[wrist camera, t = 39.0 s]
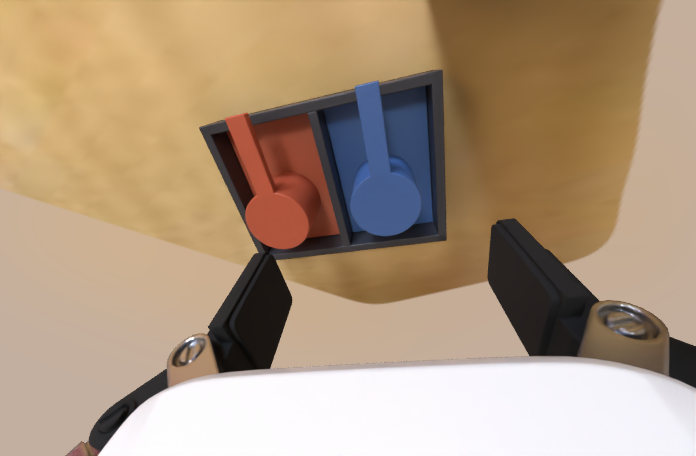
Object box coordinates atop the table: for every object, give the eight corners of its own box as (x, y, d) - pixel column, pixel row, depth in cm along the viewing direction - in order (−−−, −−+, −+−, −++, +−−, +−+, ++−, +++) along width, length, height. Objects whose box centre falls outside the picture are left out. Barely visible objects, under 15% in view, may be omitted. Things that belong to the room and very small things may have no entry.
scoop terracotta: (277, 224, 22) (259, 252, 19) (232, 114, 18) (198, 124, 14) (326, 218, 21) (316, 245, 18) (292, 99, 17) (270, 107, 14)
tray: (272, 245, 24) (262, 262, 22) (218, 121, 19) (198, 127, 17) (439, 223, 21) (446, 240, 19) (433, 69, 16) (442, 69, 14)
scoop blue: (360, 212, 21) (357, 240, 17) (334, 89, 16) (323, 94, 13) (416, 204, 20) (424, 232, 17) (404, 72, 16) (412, 72, 12)
